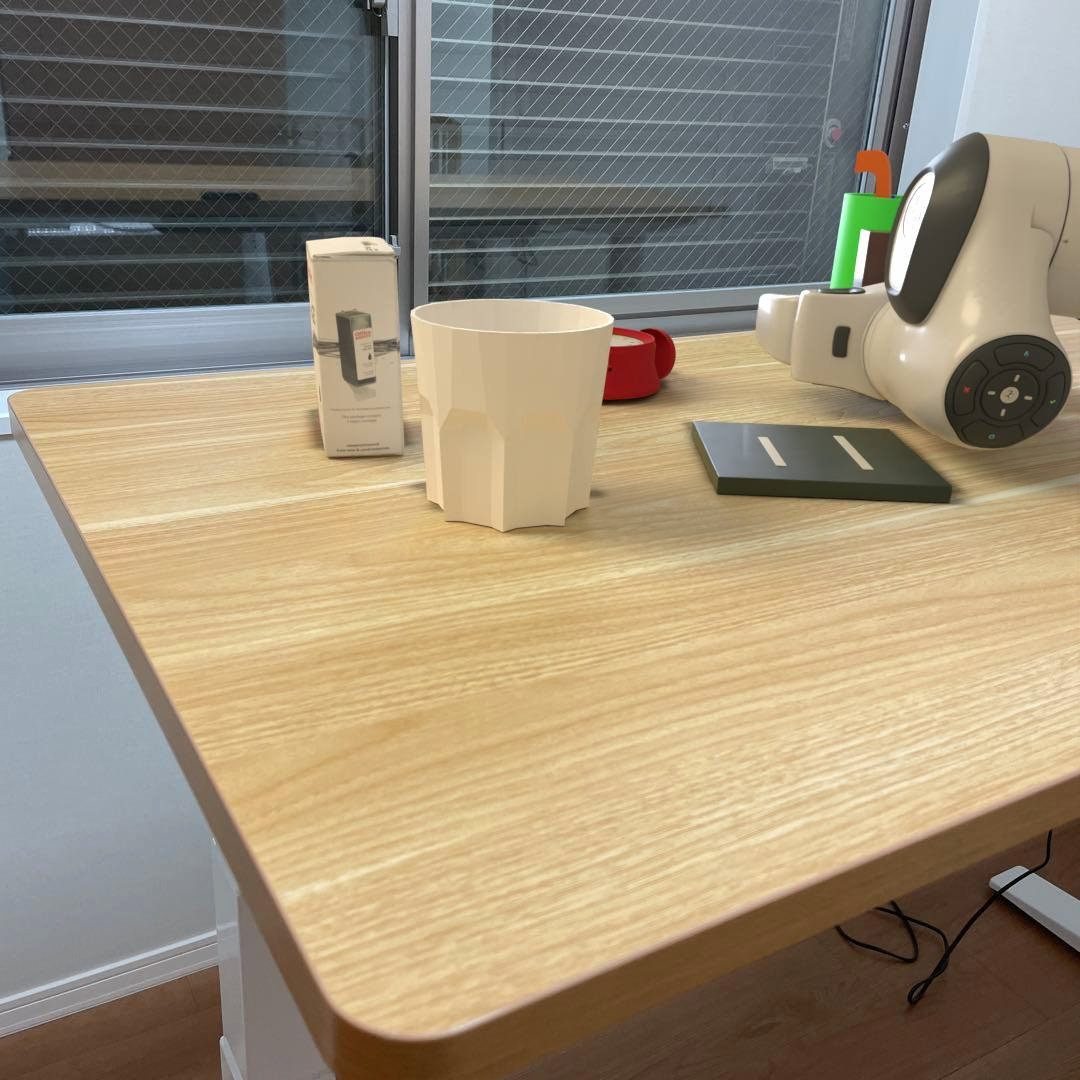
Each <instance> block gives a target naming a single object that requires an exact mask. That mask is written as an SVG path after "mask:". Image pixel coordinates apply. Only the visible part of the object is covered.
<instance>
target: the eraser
mask: <svg viewBox="0 0 1080 1080" xmlns="http://www.w3.org/2000/svg"><path fill="white" fill-rule="evenodd" d="M890 232H891V230H869V229H862V230H861V234H860V241H859V248H858V255H857V261H856V268H855V275H854V282H853V287H865V286H870V285H874V284H879V283H883V282H884V270H885V260H886V252H887V246H888V241H889V237H890Z"/></svg>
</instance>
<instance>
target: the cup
mask: <svg viewBox="0 0 1080 1080" xmlns="http://www.w3.org/2000/svg"><path fill="white" fill-rule="evenodd" d="M614 323H615V318H614V316H612V314H610V313H607V312H605V311H603V310H600V309H598V308H597V309H596V308H593V307H588V306H585V305H578V304H571V303H565V302H558V301H557V302H556V301H545V300H535V299H534V300H532V299H529V300H528V299H514V298H478V299H477V298H476V299H469V298H468V299H458V300H457V299H456V300H445V301H438V302H431V303H427V304H422V305H419V306H416V307H414V308H413V309H411V310H410V324H411V332H412V342H413V351H414V352H413V353H414V360H415V361H414V362H415V369H416V378H417V379H416V380H417V391H418V399H419V400H418V401H419V410H420V426H421V439H422V451H423V452H422V453H423V462H424V472H425V473H424V474H425V475H424V476H425V489H426V499H427V501H429V502H432V503H434V504H436V505H438V506H439V507H440V508H441V509H442V510H443V521H444V522H465V523H470V524H474V525H480V526H485V527H490V528H493V529H494V530H497V531H499V532H502V533H504V532H507V531H510V530H511V531H512V530H514V529H518V528H529V527H539V526H557V527H559V526H560V527H565V524H566V523H565V522H566V519H567V518H568V517H569V516H570V515H572V514H573V513H574V512H575V511H578V510H582V509H584V508H585V509H586V508H589V505H590V499H591V498H590V496H591V489H592V482H593V475H594V467H595V459H596V451H597V443H598V435H599V428H600V419H601V413H602V406H603V400H604V399H603V392H604V386H605V379H606V372H607V365H608V358H609V352H610V345H611V338H612V331H613V327H614Z"/></svg>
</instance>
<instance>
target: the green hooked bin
mask: <svg viewBox="0 0 1080 1080" xmlns="http://www.w3.org/2000/svg"><path fill="white" fill-rule="evenodd" d="M853 173H854V174H858V173H872V174H873V175H874V176H875V180H876V181H875V182H876V183H875V193H871V192H870V193H869V192H866V193H865V192H845V193H844V194H843V200H842V207H841V213H840V220H839V227H838V233H837V240H836V246H835V252H834V258H833V265H832V272H831V278H830V285H829V289H833V288H851V287H853V282H854V275H855V268H856V261H857V255H858V248H859V241H860V234H861V230H862V229H869V230H891V229H892V225H893V222H894V219H895V216H896V213H897V210H898V207H899V204H900V202H901V200H902V197H903V195H901V194H900V195H898V194H892V166H891V162H890V158H889V156H888V154H887V153H886V152H884V151H883V150H880V149H866V150H858V151H857V153H856V161H855V167H854V171H853Z"/></svg>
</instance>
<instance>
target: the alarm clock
mask: <svg viewBox="0 0 1080 1080" xmlns="http://www.w3.org/2000/svg"><path fill="white" fill-rule="evenodd" d="M676 353H677V350H676V345H675V342H674V340H673V338H672V337H671V336H670V335H669V333H667V332H666V331H664V330H663V329H660V328H655V327H648V328H643V329H640V330H635V329H630V328H625V327H618V326H617V327H616V326H613V331H612V338H611V345H610V352H609V358H608V365H607V372H606V379H605V386H604V392H603V399H602V400H609V401H613V400H628V399H629V400H630V399H637V398H644V397H648V396H651V395H655V394H656V393H658V392H659V391H660V390H661V386H662V382H661V380H663V379H664V378H667V377H668V376H670V374H671V372H672V371H673V368H674V367H675V363H676V359H677V354H676Z"/></svg>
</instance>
